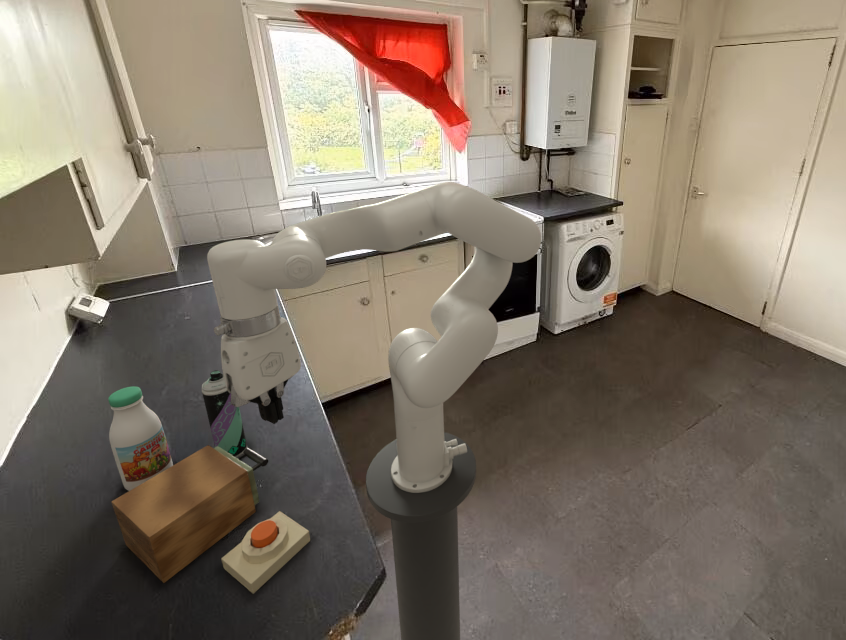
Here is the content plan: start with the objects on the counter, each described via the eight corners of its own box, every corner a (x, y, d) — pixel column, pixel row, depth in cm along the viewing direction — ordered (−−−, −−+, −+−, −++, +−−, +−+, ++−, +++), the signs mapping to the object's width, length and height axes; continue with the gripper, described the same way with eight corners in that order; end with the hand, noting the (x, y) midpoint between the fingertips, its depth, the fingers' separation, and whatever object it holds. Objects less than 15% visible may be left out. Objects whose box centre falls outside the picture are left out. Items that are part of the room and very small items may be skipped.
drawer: (246, 463, 88) (239, 432, 85) (280, 485, 82) (274, 453, 80) (142, 532, 73) (131, 496, 70) (177, 564, 68) (166, 527, 65)
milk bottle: (113, 493, 81) (83, 406, 75) (145, 462, 88) (120, 380, 82) (154, 493, 81) (128, 405, 75) (183, 462, 89) (161, 380, 82)
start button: (269, 524, 72) (267, 516, 71) (282, 534, 70) (280, 526, 70) (247, 541, 69) (245, 533, 68) (261, 552, 67) (259, 544, 66)
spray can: (211, 457, 90) (191, 376, 84) (234, 440, 95) (217, 362, 89) (230, 464, 88) (212, 382, 82) (253, 446, 93) (237, 367, 87)
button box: (281, 520, 76) (278, 502, 75) (310, 540, 73) (307, 522, 72) (223, 568, 68) (218, 550, 67) (253, 594, 64) (248, 575, 63)
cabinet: (217, 484, 84) (208, 444, 81) (256, 511, 78) (247, 470, 75) (126, 545, 71) (110, 501, 68) (163, 583, 66) (149, 537, 63)
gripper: (215, 348, 57) (243, 457, 63) (310, 306, 70) (325, 399, 75) (184, 336, 60) (213, 440, 66) (280, 298, 73) (297, 388, 79)
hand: (273, 418), depth 71 cm, fingers closed
